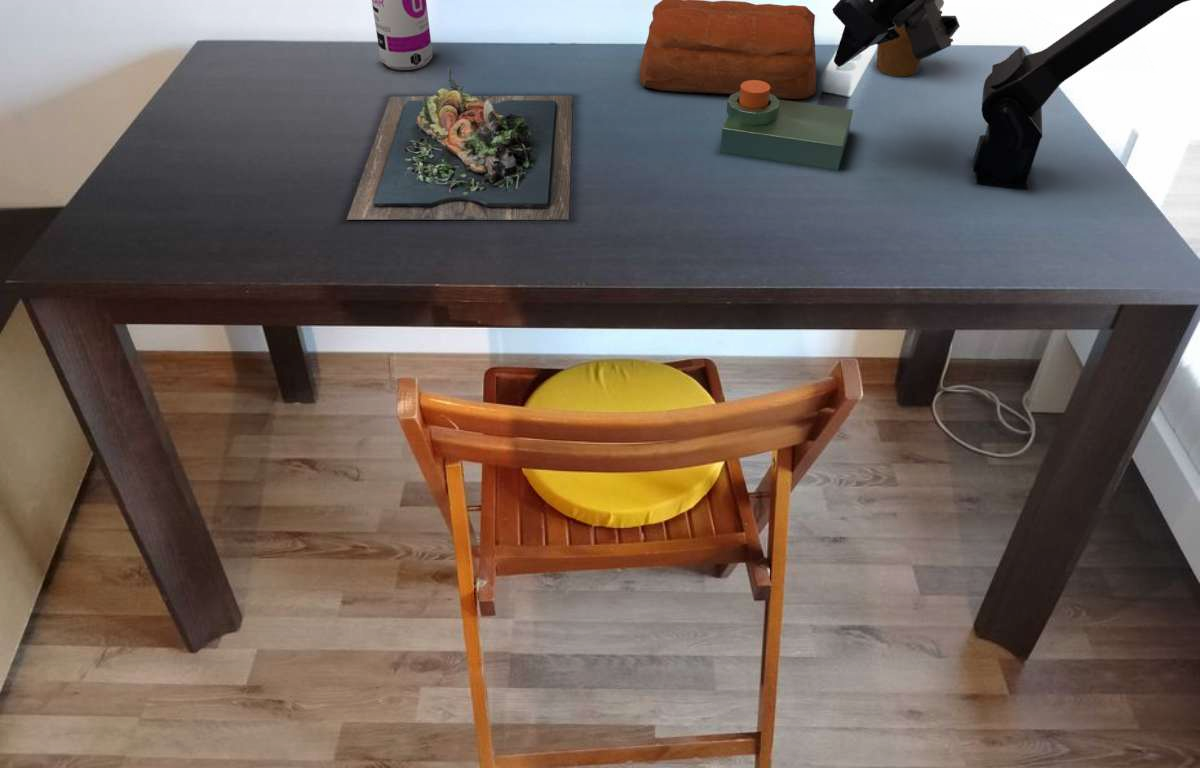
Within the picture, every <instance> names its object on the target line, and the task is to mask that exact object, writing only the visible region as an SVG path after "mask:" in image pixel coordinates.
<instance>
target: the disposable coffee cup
mask: <svg viewBox="0 0 1200 768" xmlns="http://www.w3.org/2000/svg"><path fill="white" fill-rule="evenodd" d="M935 3H936V6H937V8H938V10H939V11H941V9H942V8H943V7H944V4H945V1H944V0H936V1H935ZM894 29H895V30H896V31H897V32H898V34H899V35H900V38H897V39H894V40H891V41H888V42H885V43H882V44H877V51H876V52H877V54H876V68H877V70H878V71H879V72H880V73H883V74H885V75H888V76H891V77H910V76H914V75H915V74H917V72H918V70H919V68H920V64H921V61H922V59H921V60H917V59H916V58H915V56H914V55H913V52H912V49H913V47H912V45H911V42H910V40H909V37H908V35H907V32H906V30H905V24H904V25H903V26H902V27H900V28H898V27H897V26H895V27H894Z"/></svg>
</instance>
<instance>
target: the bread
mask: <svg viewBox="0 0 1200 768" xmlns="http://www.w3.org/2000/svg"><path fill="white" fill-rule="evenodd" d="M651 16H652V20H651V22H650V24H649V26H648V35H647V38H646V41H645V44H644V47H643V53H642V57H641V61H640V66H639V72H638V73H639V74H638V77H639V82H640V83H641V85H642V86H643V88H648V89H654V90H659V91H665V92H680V93H699V94H700V93H701V94H702V93H703V94H721V95H732V94H734V93H737V92H739V91H740V87H741V84H742V83H743V82H745V81H749V80H759V81H763V82H766V83H768V84H769V85H770V94H772V95H774V96H776V97H777V99H785V100H786V99H789V100H801V99H808V98H810V97H812V96H813V95H815V94H816V89H817V88H816V85H817V60H816V37H815V21H816V14H814V12H812V11H811V10H810V9H809V8H808V6H806V5H796V4H790V5H787V4H786V5H783V4H776V3H775V4H774V3H772V4H771V3H763V4H761V3H759V4H755V3H752V2H747V1H737V0H735V1H734V0H714V1H711V0H660V1H659V2H657V3H656V4H655V5H654V6H653V9H652V15H651Z"/></svg>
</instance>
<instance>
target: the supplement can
mask: <svg viewBox="0 0 1200 768" xmlns="http://www.w3.org/2000/svg"><path fill="white" fill-rule="evenodd" d="M427 3H428V2H427V0H371V7H372V12H373V19H374V26H375V31H376V32H375V33H376V38H377V44H378V45H377V46H378V51H379V58H380V61H381V62H382V64H384V65H386V67H388V68H390V69H392V70H397V71H410V70H416V69H420V68H423V67H425V66H426V65H428V63H429V62H430V60H432V58H433V48H432V47H433V46H432V39H431V37H432V36H431V32H430V31H431V30H430V23H429V21H430V20H429V12H428V4H427Z"/></svg>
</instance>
